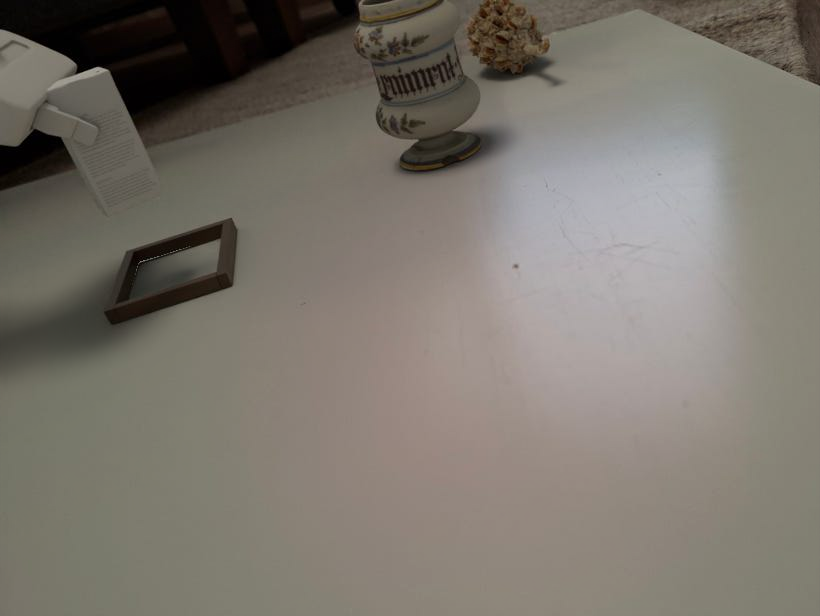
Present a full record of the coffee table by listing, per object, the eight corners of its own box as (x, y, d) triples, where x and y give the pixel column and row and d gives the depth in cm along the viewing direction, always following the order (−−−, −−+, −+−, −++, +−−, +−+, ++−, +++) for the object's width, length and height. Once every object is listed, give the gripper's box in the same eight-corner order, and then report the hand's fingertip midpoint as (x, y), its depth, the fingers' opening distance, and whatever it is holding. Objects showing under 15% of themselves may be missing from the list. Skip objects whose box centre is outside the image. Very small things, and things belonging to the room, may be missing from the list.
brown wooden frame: (110, 325, 80) (103, 311, 79) (132, 263, 93) (125, 251, 92) (232, 285, 81) (226, 272, 80) (237, 229, 93) (231, 217, 93)
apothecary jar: (411, 185, 91) (358, 14, 82) (378, 160, 101) (327, 5, 92) (509, 145, 94) (469, -24, 84) (467, 125, 104) (427, -30, 94)
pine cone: (459, 75, 125) (441, 5, 119) (514, 53, 127) (499, -16, 122) (533, 96, 107) (516, 16, 102) (595, 71, 110) (582, -9, 104)
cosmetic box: (155, 186, 84) (100, 65, 78) (166, 194, 81) (110, 68, 74) (96, 209, 82) (34, 87, 75) (105, 219, 78) (41, 92, 72)
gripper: (-34, 60, 82) (111, 127, 87) (-119, 112, 64) (69, 192, 70) (-14, -1, 80) (133, 72, 85) (-97, 36, 62) (95, 124, 68)
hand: (104, 126), depth 77 cm, fingers closed on cosmetic box, 5 cm apart
